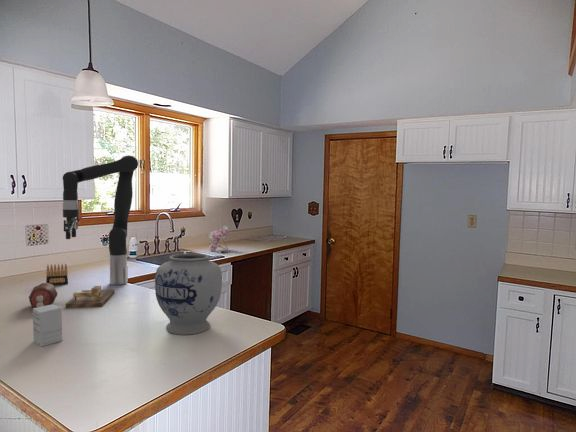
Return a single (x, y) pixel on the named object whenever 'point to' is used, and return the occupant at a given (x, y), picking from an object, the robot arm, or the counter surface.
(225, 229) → the flower
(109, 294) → the walnut board
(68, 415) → the counter surface
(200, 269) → the apothecary jar
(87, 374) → the counter surface
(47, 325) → the supplement box
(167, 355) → the counter surface
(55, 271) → the ammunition clip
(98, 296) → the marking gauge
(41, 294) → the meat
